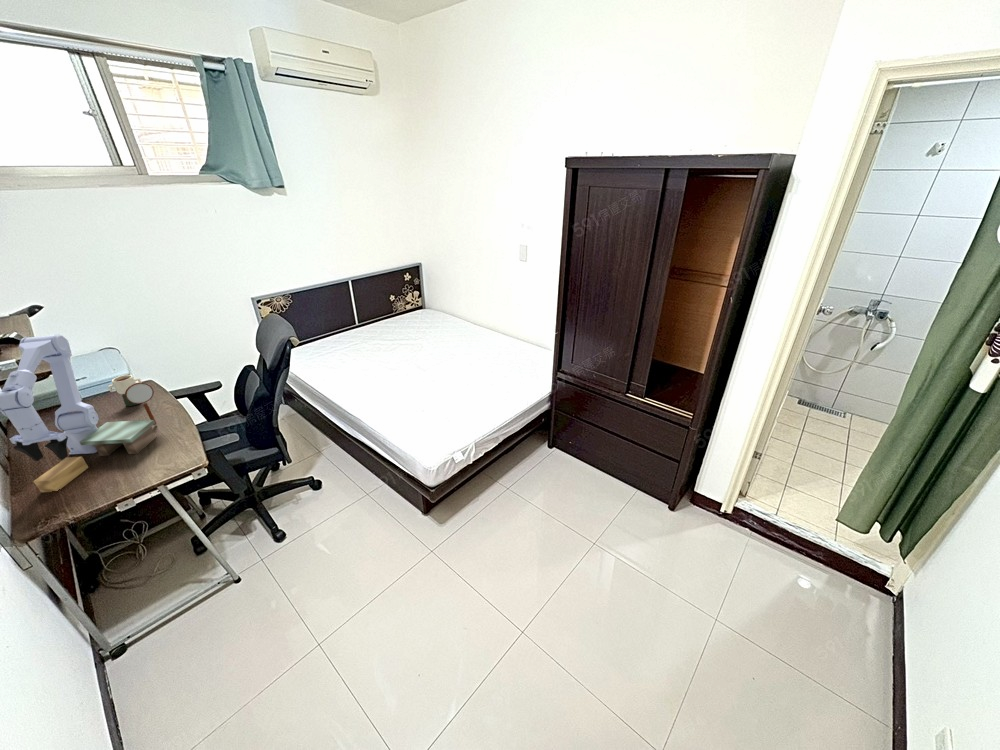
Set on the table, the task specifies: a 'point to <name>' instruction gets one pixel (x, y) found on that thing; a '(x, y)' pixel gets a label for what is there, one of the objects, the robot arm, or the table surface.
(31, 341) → the robot arm
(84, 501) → the table surface
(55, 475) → the peg
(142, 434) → the socket shed
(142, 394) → the magnifying glass
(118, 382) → the character mug
